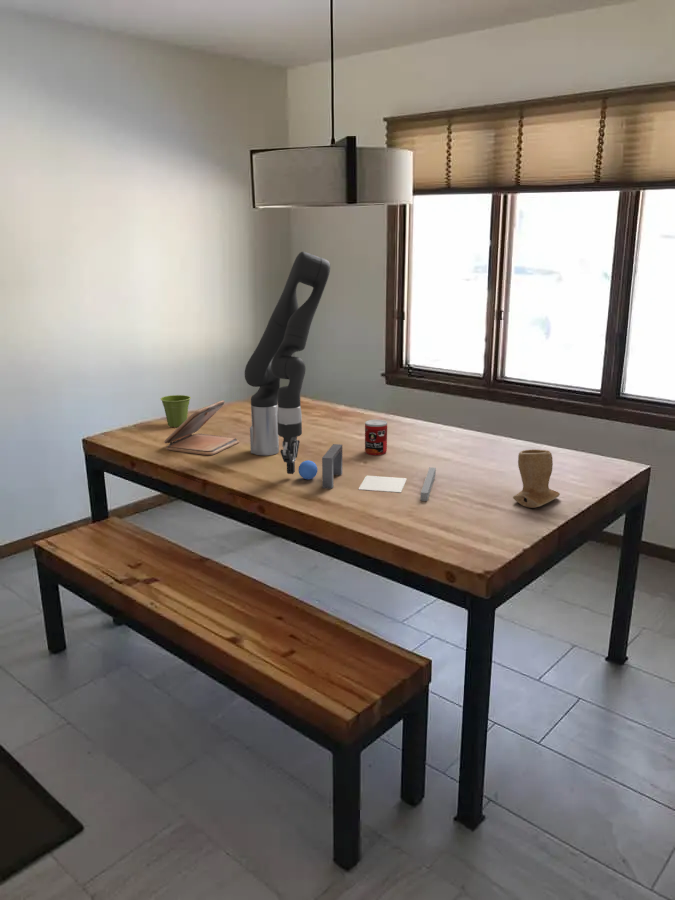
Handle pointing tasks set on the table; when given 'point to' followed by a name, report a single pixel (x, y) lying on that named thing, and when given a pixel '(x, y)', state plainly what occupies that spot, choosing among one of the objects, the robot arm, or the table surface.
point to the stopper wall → (428, 484)
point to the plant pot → (176, 409)
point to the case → (199, 442)
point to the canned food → (376, 437)
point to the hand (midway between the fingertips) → (290, 473)
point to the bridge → (331, 465)
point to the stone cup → (535, 478)
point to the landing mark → (383, 484)
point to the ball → (307, 469)
